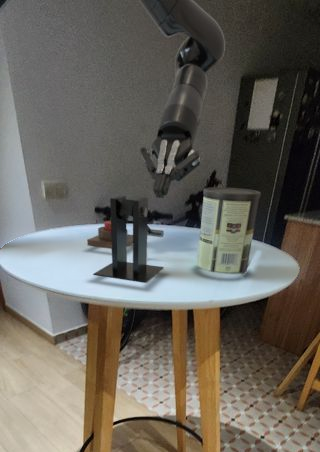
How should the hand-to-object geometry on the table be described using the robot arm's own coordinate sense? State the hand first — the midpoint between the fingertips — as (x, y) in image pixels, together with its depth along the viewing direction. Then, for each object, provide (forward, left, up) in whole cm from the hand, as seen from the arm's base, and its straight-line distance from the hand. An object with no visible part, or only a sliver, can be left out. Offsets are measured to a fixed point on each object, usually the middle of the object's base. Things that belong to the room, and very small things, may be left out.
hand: (159, 194), depth 73 cm
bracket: (0, -15, -12) cm, 19 cm away
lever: (0, -11, -4) cm, 12 cm away
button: (-12, +4, -8) cm, 15 cm away
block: (-12, +4, -12) cm, 17 cm away
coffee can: (+15, -3, -12) cm, 20 cm away
